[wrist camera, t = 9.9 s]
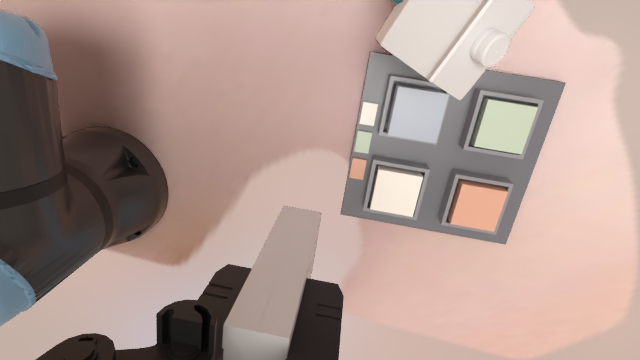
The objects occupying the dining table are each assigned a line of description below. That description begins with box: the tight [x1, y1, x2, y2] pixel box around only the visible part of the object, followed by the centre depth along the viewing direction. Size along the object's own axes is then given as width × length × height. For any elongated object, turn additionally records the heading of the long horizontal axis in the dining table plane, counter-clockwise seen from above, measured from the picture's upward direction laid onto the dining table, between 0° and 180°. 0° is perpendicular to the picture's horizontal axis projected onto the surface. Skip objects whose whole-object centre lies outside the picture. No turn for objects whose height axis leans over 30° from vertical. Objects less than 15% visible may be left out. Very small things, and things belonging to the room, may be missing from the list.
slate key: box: [387, 84, 449, 143], centre depth 37 cm, size 5×5×2 cm
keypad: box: [341, 52, 566, 244], centre depth 41 cm, size 20×19×3 cm
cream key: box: [370, 164, 423, 217], centre depth 42 cm, size 5×5×2 cm
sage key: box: [470, 97, 538, 154], centre depth 38 cm, size 5×5×2 cm
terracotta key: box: [447, 179, 508, 232], centre depth 41 cm, size 5×5×2 cm
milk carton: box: [375, 0, 535, 100], centre depth 30 cm, size 7×7×19 cm
